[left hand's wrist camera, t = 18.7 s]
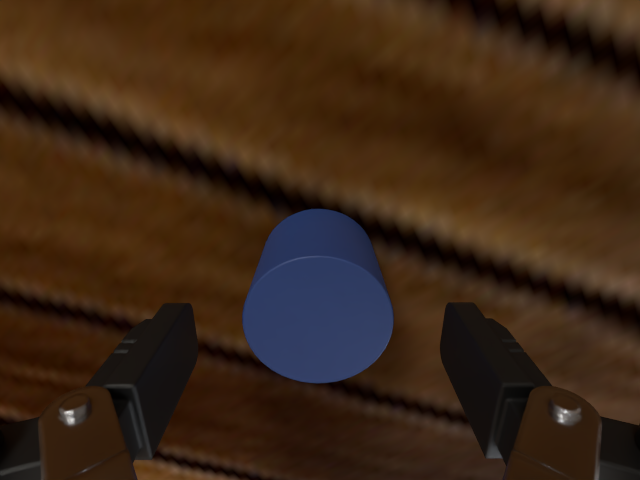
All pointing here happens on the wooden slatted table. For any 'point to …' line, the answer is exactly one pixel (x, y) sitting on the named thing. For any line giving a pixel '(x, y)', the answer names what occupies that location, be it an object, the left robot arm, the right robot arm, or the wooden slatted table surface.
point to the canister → (318, 300)
